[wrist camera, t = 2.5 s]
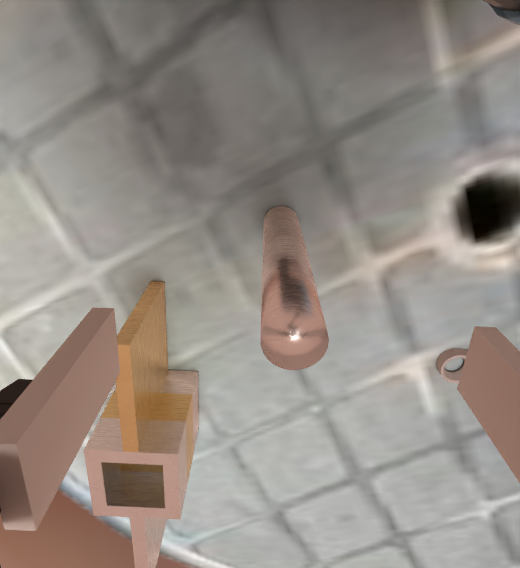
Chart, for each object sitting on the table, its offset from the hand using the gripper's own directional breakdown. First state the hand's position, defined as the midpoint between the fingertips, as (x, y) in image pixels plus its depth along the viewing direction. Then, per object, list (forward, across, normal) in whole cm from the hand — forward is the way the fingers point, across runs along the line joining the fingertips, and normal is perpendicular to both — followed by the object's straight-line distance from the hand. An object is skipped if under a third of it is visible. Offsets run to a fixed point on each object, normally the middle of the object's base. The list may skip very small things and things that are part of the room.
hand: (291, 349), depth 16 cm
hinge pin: (+16, 0, 0) cm, 16 cm away
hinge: (+16, -9, -16) cm, 24 cm away
